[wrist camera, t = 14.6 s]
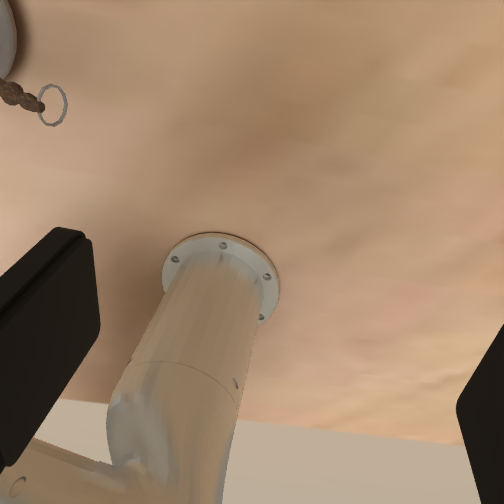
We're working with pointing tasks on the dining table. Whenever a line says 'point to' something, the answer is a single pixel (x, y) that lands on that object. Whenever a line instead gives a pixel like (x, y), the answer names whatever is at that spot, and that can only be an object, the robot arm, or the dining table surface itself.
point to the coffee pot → (3, 53)
